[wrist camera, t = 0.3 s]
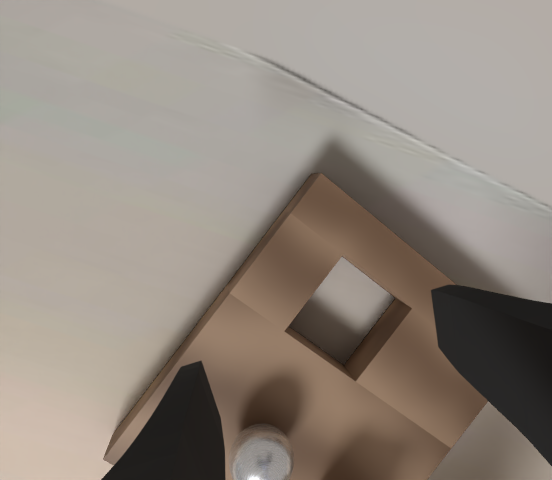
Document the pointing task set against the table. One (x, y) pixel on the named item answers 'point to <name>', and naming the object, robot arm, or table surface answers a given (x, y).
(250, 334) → the board
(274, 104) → the table surface
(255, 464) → the ball
